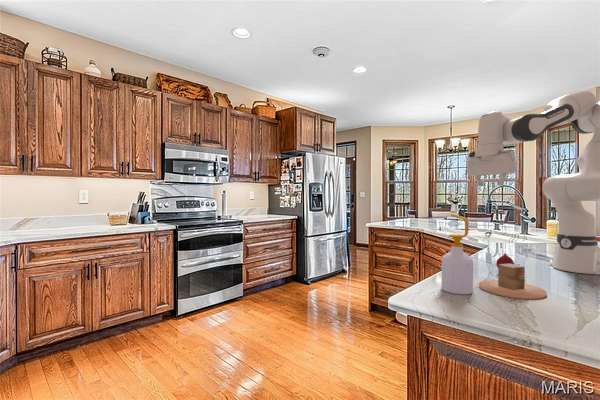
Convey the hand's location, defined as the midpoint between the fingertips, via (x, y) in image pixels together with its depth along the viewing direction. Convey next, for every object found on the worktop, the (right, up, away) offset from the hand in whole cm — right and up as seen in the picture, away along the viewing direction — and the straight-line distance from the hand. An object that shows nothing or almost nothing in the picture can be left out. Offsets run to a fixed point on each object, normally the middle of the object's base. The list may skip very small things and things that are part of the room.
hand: (489, 186), depth 130 cm
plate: (-10, -35, -28) cm, 45 cm away
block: (-10, -34, -28) cm, 45 cm away
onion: (+2, -35, -7) cm, 35 cm away
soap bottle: (-27, -35, -28) cm, 53 cm away
